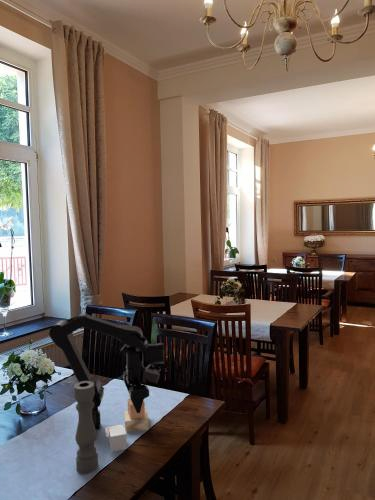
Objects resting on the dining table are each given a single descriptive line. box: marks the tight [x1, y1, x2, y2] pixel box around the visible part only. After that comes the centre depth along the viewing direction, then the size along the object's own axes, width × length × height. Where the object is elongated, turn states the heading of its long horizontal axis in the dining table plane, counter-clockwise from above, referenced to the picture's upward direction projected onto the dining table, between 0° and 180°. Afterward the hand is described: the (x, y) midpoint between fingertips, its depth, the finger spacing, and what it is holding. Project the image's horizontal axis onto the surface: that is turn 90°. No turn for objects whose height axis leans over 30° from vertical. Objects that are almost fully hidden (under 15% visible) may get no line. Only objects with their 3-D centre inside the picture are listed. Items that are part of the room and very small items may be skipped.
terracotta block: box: [127, 398, 146, 419], centre depth 139 cm, size 5×5×5 cm
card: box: [104, 424, 123, 438], centre depth 135 cm, size 6×6×1 cm
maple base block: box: [124, 407, 150, 433], centre depth 139 cm, size 8×8×4 cm
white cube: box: [108, 425, 128, 453], centre depth 126 cm, size 5×5×5 cm
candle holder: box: [73, 381, 99, 475], centre depth 115 cm, size 6×6×25 cm
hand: (136, 406), depth 139 cm, fingers open, 9 cm apart
